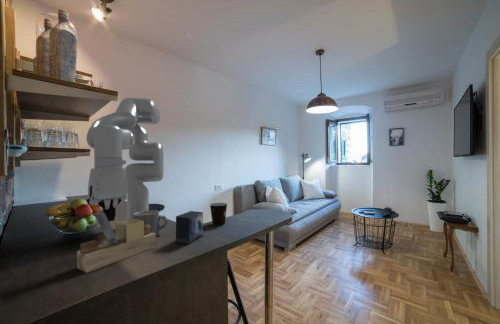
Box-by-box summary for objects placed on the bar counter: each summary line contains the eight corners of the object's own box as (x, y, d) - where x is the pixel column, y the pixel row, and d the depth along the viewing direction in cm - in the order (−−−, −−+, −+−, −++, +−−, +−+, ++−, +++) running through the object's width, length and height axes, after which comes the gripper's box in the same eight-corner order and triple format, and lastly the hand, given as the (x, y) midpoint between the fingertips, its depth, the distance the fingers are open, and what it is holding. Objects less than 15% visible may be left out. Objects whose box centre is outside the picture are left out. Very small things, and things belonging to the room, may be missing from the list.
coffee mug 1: (129, 240, 87) (129, 215, 87) (138, 232, 97) (138, 210, 97) (163, 238, 89) (163, 214, 89) (169, 231, 99) (169, 209, 99)
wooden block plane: (77, 267, 64) (77, 241, 64) (146, 244, 83) (146, 223, 83) (86, 273, 61) (85, 244, 61) (156, 247, 80) (155, 225, 80)
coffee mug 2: (219, 220, 116) (219, 202, 116) (230, 223, 110) (230, 203, 110) (202, 225, 107) (201, 205, 107) (213, 228, 101) (213, 207, 101)
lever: (107, 242, 71) (93, 213, 67) (112, 239, 72) (98, 211, 68) (115, 245, 68) (100, 215, 65) (119, 242, 69) (105, 212, 66)
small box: (189, 245, 81) (188, 217, 81) (175, 243, 83) (174, 216, 83) (204, 236, 91) (203, 211, 91) (190, 234, 93) (190, 210, 93)
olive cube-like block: (115, 239, 74) (115, 222, 74) (132, 234, 79) (132, 218, 79) (126, 243, 70) (126, 225, 70) (144, 237, 75) (143, 220, 75)
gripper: (125, 163, 77) (126, 214, 77) (75, 164, 65) (76, 224, 65) (137, 163, 73) (138, 216, 74) (87, 164, 61) (88, 228, 61)
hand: (109, 220), depth 69 cm, fingers closed
